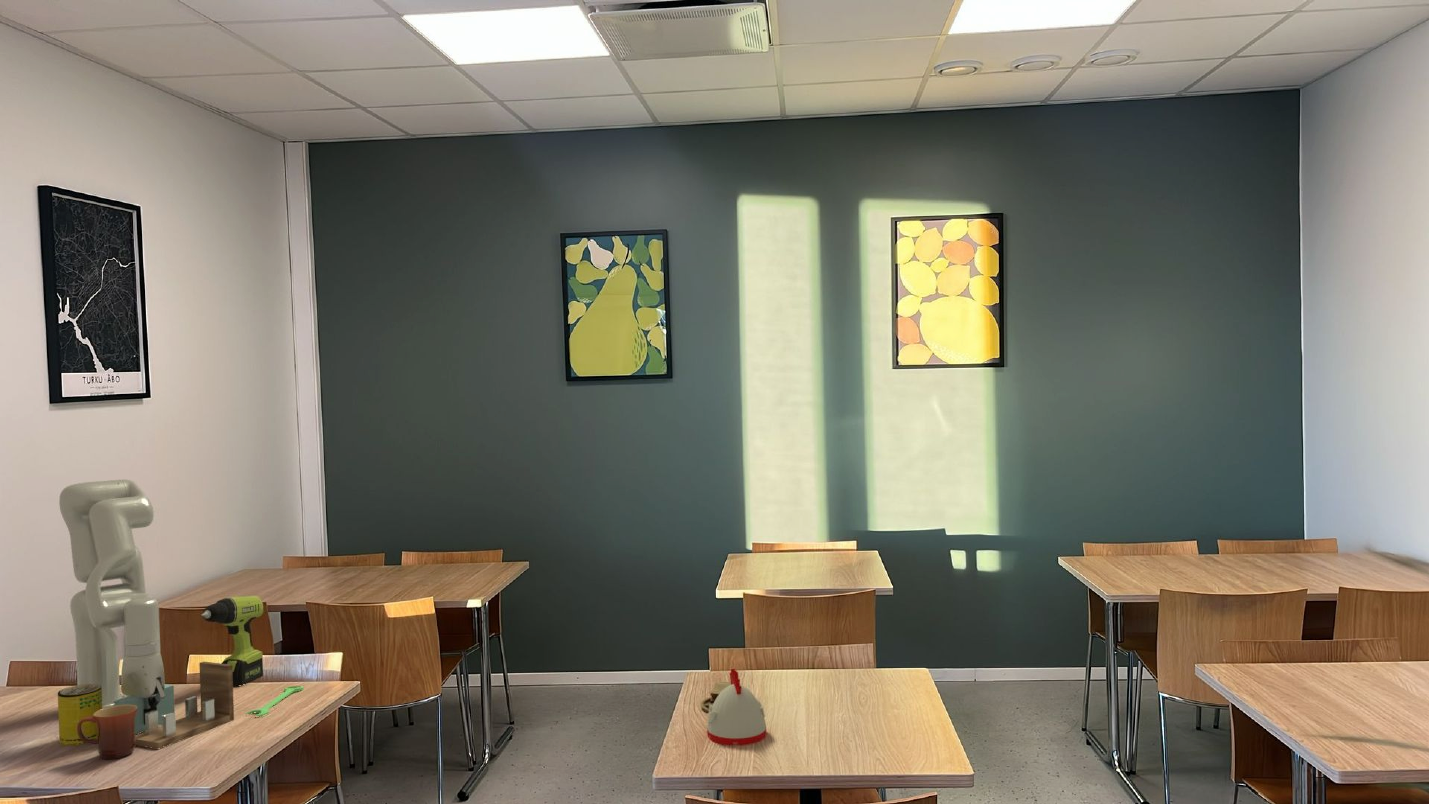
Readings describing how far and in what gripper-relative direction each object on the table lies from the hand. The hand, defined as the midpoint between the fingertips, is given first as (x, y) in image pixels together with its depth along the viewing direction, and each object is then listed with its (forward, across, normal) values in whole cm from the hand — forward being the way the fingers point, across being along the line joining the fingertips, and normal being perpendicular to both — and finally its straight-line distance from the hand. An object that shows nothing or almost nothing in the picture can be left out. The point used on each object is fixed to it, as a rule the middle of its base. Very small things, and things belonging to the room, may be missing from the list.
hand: (145, 721), depth 244 cm
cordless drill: (+2, -9, +34) cm, 35 cm away
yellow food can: (+2, -9, -10) cm, 14 cm away
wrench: (+2, +15, +26) cm, 31 cm away
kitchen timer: (+2, +141, +43) cm, 147 cm away
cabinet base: (+2, +11, +1) cm, 11 cm away
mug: (+2, +8, -16) cm, 18 cm away
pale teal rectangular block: (+2, 0, 0) cm, 2 cm away
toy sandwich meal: (+2, +131, +61) cm, 144 cm away
